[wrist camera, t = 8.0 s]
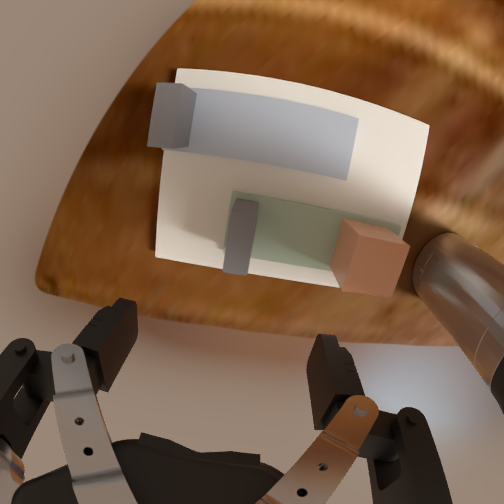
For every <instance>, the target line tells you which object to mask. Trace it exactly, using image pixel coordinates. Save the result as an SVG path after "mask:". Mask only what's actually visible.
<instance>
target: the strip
mask: <svg viewBox="0 0 504 504" xmlns="http://www.w3.org/2000/svg"><path fill="white" fill-rule="evenodd" d="M358 121H359V118H356V117H352V116H349V115H345V114H342V113H338V112H334V111H331V110H327V109H323V108H319V107H314V106H310V105H306V104H301V103H297V102H292V101H287V100H282V99H276V98H271V97H265V96H259V95H252V94H246V93H238V92H230V91H222V90H212V89H201V88H189V87H187V86H186V85H184V84H183V83H157V85H156V91H155V96H154V102H153V108H152V114H151V121H150V128H149V135H148V143H147V147H158V148H162V150H171V151H180V152H189V153H197V154H205V155H213V156H220V157H227V158H234V159H240V160H246V161H252V162H258V163H264V164H270V165H275V166H280V167H286V168H291V169H296V170H300V171H305V172H310V173H315V174H319V175H324V176H328V177H332V178H337V179H341V180H345V181H346V180H347V176H348V171H349V167H350V162H351V157H352V152H353V147H354V142H355V137H356V132H357V127H358Z"/></svg>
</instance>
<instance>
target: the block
mask: <svg viewBox="0 0 504 504" xmlns="http://www.w3.org/2000/svg"><path fill="white" fill-rule="evenodd" d="M409 248H410V246H409V245H408V244H407V243H406V242H404V241H403V240H402V239H401V238H400V237H398V236H397V235H396V234H395V233H393V232H392V231H391V230H390V229H388V228H385V227H380V226H376V225H372V224H367V223H363V222H358V221H354V220H349V219H345V218H343V219H342V223H341V227H340V231H339V234H338V238H337V242H336V245H335V249H334V253H333V256H332V260H331V263H330V268H331V270H332V272H333V274H334V276H335V278H336V280H337V282H338V284H339V286H340V289H341V291H346V292H353V293H360V294H367V295H374V296H381V297H389V298H391V297H392V295H393V292H394V290H395V287H396V284H397V282H398V279H399V277H400V274H401V271H402V269H403V266H404V263H405V260H406V257H407V254H408V251H409Z"/></svg>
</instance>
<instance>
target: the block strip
mask: <svg viewBox="0 0 504 504" xmlns="http://www.w3.org/2000/svg"><path fill="white" fill-rule="evenodd" d="M343 218H345V219H349V220H354V221H358V222H363V223H367V224H372V225H376V226H380V227H385V228H388V229H390V230H391V231H392V232H393V233H395V234H396V235H397V236H398V237H399V234H400V230H401V226H400V225H398V224H394V223H390V222H386V221H382V220H377V219H373V218H369V217H365V216H360V215H356V214H351V213H347V212H342V211H338V210H333V209H329V208H324V207H319V206H314V205H309V204H304V203H299V202H294V201H289V200H283V199H278V198H273V197H267V196H261V195H256V194H250V193H244V192H238V191H232V195H231V202H230V208H229V215H228V221H227V228H226V235H225V242H224V249H223V253H225V256H224V263H223V270H222V272H225V273H231V274H237V275H243V276H247V274H248V268H249V263H250V258H255V259H261V260H267V261H273V262H279V263H285V264H291V265H297V266H303V267H309V268H315V269H321V270H327V271H332V270H331V268H330V263H331V260H332V256H333V253H334V249H335V245H336V242H337V238H338V234H339V231H340V227H341V223H342V219H343Z"/></svg>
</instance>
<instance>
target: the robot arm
mask: <svg viewBox="0 0 504 504" xmlns="http://www.w3.org/2000/svg"><path fill="white" fill-rule="evenodd" d="M412 280H413V286H414V289H415V291H416V293H417V294H418V296H419V297H420V298H421V299H422V300H423V302H424V303H425V304H426V305H427V306H428V308H429V309H430V310H431V311H432V313H433V314H434V315H435V316H436V317H437V319H438V320H439V321H440V322H441V324H442V325H443V326H444V327H445V329H446V330H447V331H448V333H449V334H450V335H451V336H452V338H453V339H454V340H455V342H456V343H457V344H458V346H459V347H460V348H461V350H462V351H463V352H464V353H465V355H466V356H467V357H468V359H469V360H470V362H471V363H472V365H473V366H474V367H475V369H476V370H477V372H478V373H479V374H480V376H481V377H482V379H483V380H484V382H485V383H486V385H487V386H488V387H489V389H490V391H491V393H492V394H493V396H494V397H495V399H496V400H497V402H498V404H499V405H500V408H501V410H502V412H503V414H504V265H503V264H502V263H501V262H499V261H498V260H496V259H495V258H493V257H492V256H490V255H489V254H488V253H486V252H485V251H483V250H482V249H480V248H479V247H477V246H476V245H474V244H473V243H471V242H469V241H468V240H466V239H465V238H463V237H461V236H460V235H458V234H455V233H443V234H440V235H438V236H436V237H434V238H433V239H432V240H430V241H429V242H428V243H427V244H426V245H425V246H424V248H423V249H422V250H421V252H420V254H419V255H418V257H417V260H416V262H415V265H414V269H413V276H412ZM137 335H138V319H137V304H136V302H135V301H132V300H128V299H124V298H119V299H118V300H117V301H116V302H115V303H114V305H113V306H112V307H110V306H106V307H104V308H103V309H101V310H99V311H98V312H97V313H96V314H95V316H94V317H93V319H91V321H90V322H89V323H88V325H86V326H85V328H84V329H83V330H82V331H81V333H80V334H79V335H78V337H77V338H76V339H75V340H74V341H73V343H72V344H62V345H60V346H58V347H57V348H55V349H54V350H53V352H48V351H39V350H36V348H35V345H34V343H33V342H32V341H31V340H29V339H26V338H19V339H16V340H14V341H12V342H11V343H10V344H9V345H8V346H7V347H6V348H5V350H4V351H3V352H2V353H1V355H0V504H325V503H326V502H327V500H328V499H329V497H330V496H331V495H332V493H333V492H334V491H335V489H336V488H337V486H338V485H339V484H340V482H341V480H342V479H343V478H344V476H345V475H346V473H347V472H348V470H349V468H350V467H351V466H352V464H353V462H354V461H355V459H356V458H357V456H358V457H363V458H367V463H368V470H369V476H370V483H371V490H372V498H373V504H453V503H452V500H451V495H450V492H449V488H448V484H447V481H446V477H445V474H444V471H443V467H442V464H441V461H440V458H439V455H438V452H437V449H436V446H435V443H434V440H433V437H432V434H431V431H430V428H429V426H428V423H427V421H426V418H425V416H424V415H423V414H422V413H421V412H420V411H419V410H417V409H415V408H412V407H405V408H403V409H401V410H400V411H399V412H398V414H392V413H388V412H384V411H380V410H379V409H378V406H377V405H376V404H375V402H374V401H373V400H372V399H370V398H368V397H366V396H365V394H364V391H363V388H362V385H361V382H360V379H359V376H358V373H357V370H356V367H355V365H354V361H353V358H352V355H351V354H350V353H349V352H348V351H347V349H346V348H344V347H339V344H338V341H337V338H336V336H335V335H327V334H318V335H317V337H316V340H315V343H314V345H313V348H312V351H311V353H310V356H309V359H308V362H307V379H308V385H309V392H310V399H311V407H312V414H313V422H314V429H315V430H324V431H322V432H321V434H320V435H319V436H318V437H317V438H316V440H315V441H314V442H313V443H312V444H311V446H310V447H309V448H308V449H307V450H306V452H305V453H304V454H303V455H302V456H301V457H300V459H299V460H298V461H297V462H296V463H295V464H294V465H293V467H291V469H290V470H289V471H288V472H287V473H286V474H285V475H284V474H283V473H282V472H280V471H279V470H277V469H276V468H274V467H272V466H270V465H267V464H265V463H261V462H260V454H249V453H240V452H233V451H227V452H207V453H206V452H205V453H200V452H196V451H193V450H191V449H189V448H186V447H184V446H182V445H180V444H178V443H175V442H173V441H171V440H168V439H164V438H161V437H157V436H153V435H149V434H146V433H141V435H140V438H139V439H127V440H121V441H116V442H113V443H112V440H111V438H110V435H109V433H108V430H107V427H106V424H105V422H104V419H103V416H102V413H101V410H100V406H99V403H98V400H97V397H96V394H97V392H98V391H99V389H100V390H102V391H105V392H108V391H109V389H110V387H111V386H112V384H113V382H114V380H115V378H116V376H117V374H118V373H119V371H120V369H121V367H122V365H123V363H124V362H125V360H126V358H127V356H128V354H129V353H130V351H131V349H132V347H133V345H134V344H135V342H136V339H137ZM21 386H22V388H21V389H20V387H21ZM19 389H20V391H19ZM18 391H19V392H18ZM17 392H18V394H17V395H16V393H17ZM15 395H16V397H15ZM14 397H15V399H14ZM51 401H53V402H54V407H55V412H56V418H57V423H58V428H59V432H60V437H61V440H62V445H63V449H64V453H65V456H66V460H67V463H68V464H67V465H65V466H62V467H60V468H58V469H56V470H54V471H51V472H49V473H46V474H44V475H42V476H39V477H37V478H34V479H31V480H29V481H26V482H25V483H23V481H24V479H25V476H24V471H25V470H24V464H23V462H22V460H21V459H22V457H23V455H24V452H25V450H26V448H27V446H28V444H29V442H30V440H31V438H32V436H33V434H34V432H35V430H36V428H37V426H38V424H39V422H40V420H41V418H42V416H43V414H44V413H45V411H46V409H47V407H48V405H49V404H50V402H51Z"/></svg>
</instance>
